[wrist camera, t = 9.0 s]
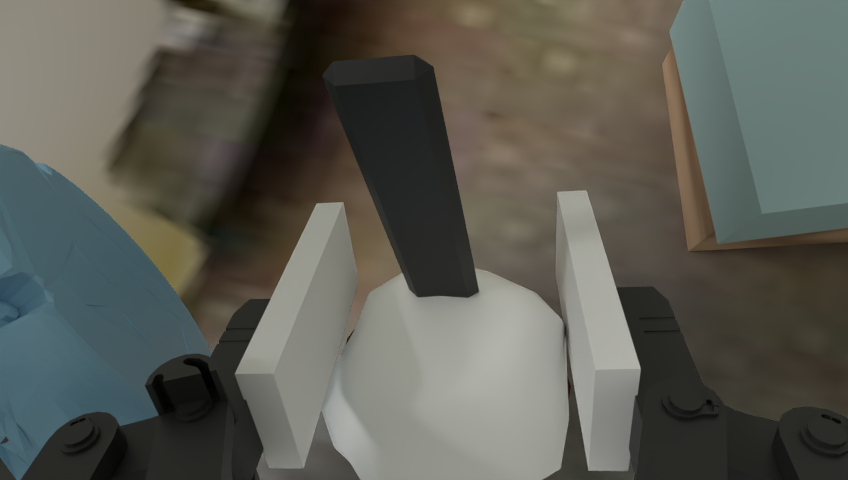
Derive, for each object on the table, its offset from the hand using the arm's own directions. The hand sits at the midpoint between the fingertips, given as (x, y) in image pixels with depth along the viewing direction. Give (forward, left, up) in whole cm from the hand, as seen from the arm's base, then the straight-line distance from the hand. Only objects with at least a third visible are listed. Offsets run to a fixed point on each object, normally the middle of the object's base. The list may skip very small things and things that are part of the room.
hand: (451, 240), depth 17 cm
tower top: (+16, +8, -12) cm, 22 cm away
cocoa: (0, -4, -4) cm, 5 cm away
